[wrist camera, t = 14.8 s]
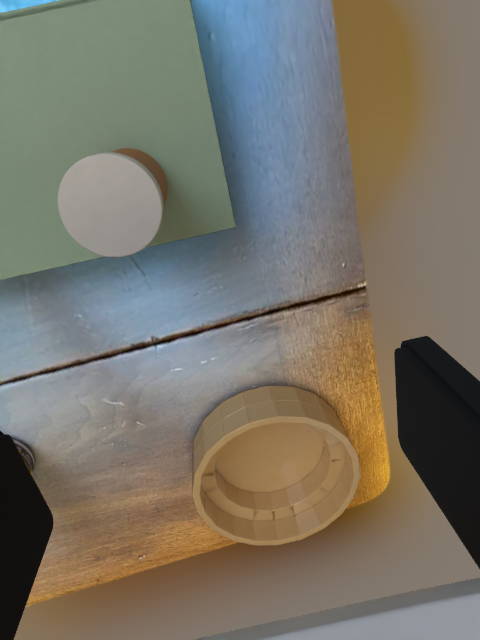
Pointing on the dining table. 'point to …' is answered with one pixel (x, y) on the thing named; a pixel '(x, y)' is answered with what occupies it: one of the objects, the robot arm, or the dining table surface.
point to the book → (102, 119)
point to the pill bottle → (113, 201)
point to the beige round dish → (272, 466)
